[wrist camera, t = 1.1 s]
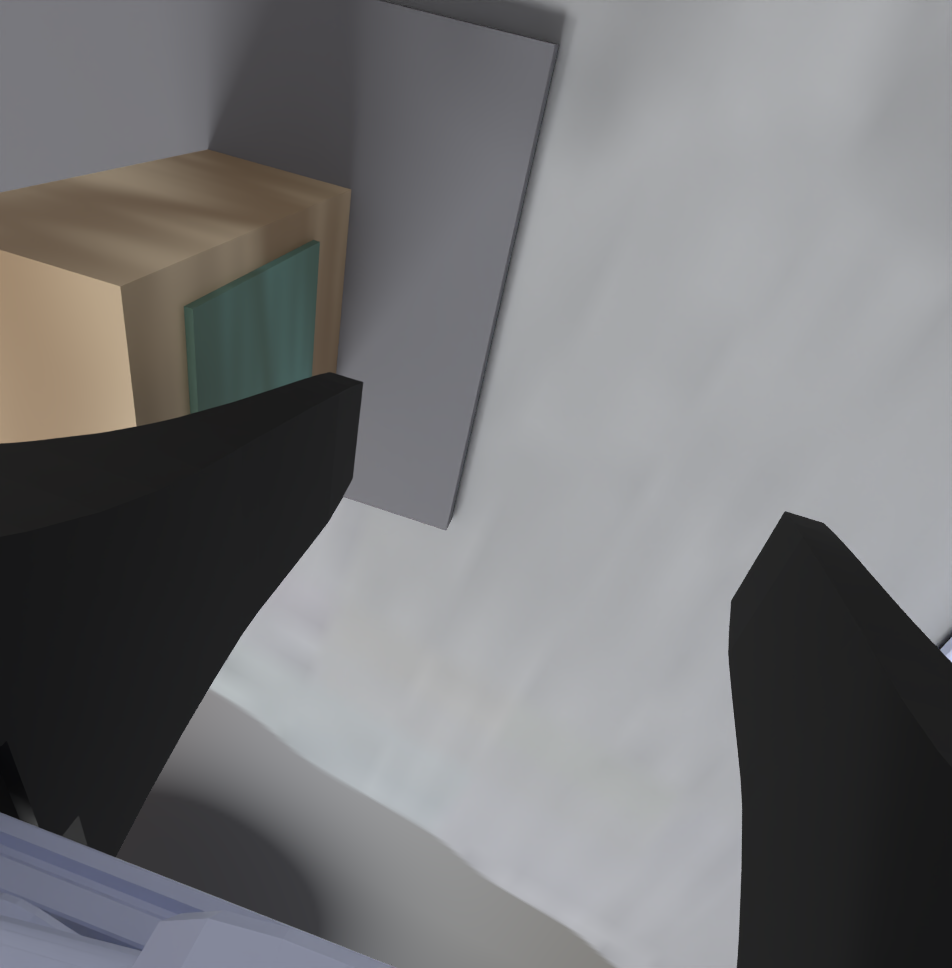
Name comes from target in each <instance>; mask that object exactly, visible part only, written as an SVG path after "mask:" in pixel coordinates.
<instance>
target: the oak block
mask: <svg viewBox="0 0 952 968" xmlns="http://www.w3.org/2000/svg"><path fill="white" fill-rule="evenodd" d="M350 200H351V189H348V188H344V187H341V186H337V185H334V184H330V183H326V182H323V181H319V180H316V179H312V178H308V177H305V176H301V175H298V174H294V173H291V172H287V171H283V170H280V169H276V168H273V167H269V166H266V165H262V164H258V163H255V162H251V161H248V160H244V159H241V158H237V157H233V156H230V155H226V154H223V153H219V152H215V151H212V150H208V149H207V150H202V151H198V152H193V153H188V154H183V155H178V156H173V157H169V158H164V159H159V160H154V161H149V162H145V163H140V164H135V165H130V166H125V167H121V168H116V169H111V170H106V171H101V172H96V173H92V174H87V175H82V176H77V177H72V178H68V179H63V180H58V181H53V182H48V183H43V184H39V185H34V186H29V187H24V188H19V189H15V190H10V191H5V192H0V443H15V442H27V441H37V440H45V439H53V438H62V437H70V436H78V435H87V434H95V433H102V432H108V431H114V430H119V429H125V428H130V427H136V426H141V425H146V424H151V423H156V422H160V421H165V420H169V419H173V418H177V417H181V416H185V415H188V414H192V413H195V412H199V411H203V410H206V409H210V408H213V407H217V406H221V405H224V404H228V403H231V402H235V401H238V400H241V399H244V398H247V397H250V396H253V395H256V394H260V393H263V392H266V391H269V390H272V389H275V388H278V387H281V386H284V385H287V384H290V383H293V382H296V381H299V380H302V379H305V378H309V377H312V376H315V375H319V374H323V373H328V372H332V373H335V374H336V368H337V356H338V344H339V332H340V320H341V308H342V296H343V284H344V272H345V260H346V248H347V236H348V224H349V212H350Z"/></svg>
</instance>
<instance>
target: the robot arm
mask: <svg viewBox="0 0 952 968" xmlns="http://www.w3.org/2000/svg"><path fill="white" fill-rule="evenodd" d="M362 391H363V382H361V381H358V380H355V379H352V378H348V377H345V376H342V375H339V374H335V373H332V372H328V373H323V374H319V375H315V376H312V377H309V378H305V379H302V380H299V381H296V382H293V383H290V384H287V385H284V386H281V387H278V388H275V389H272V390H269V391H266V392H263V393H260V394H256V395H253V396H250V397H247V398H244V399H241V400H238V401H235V402H231V403H228V404H224V405H221V406H217V407H213V408H210V409H206V410H203V411H199V412H195V413H192V414H188V415H185V416H181V417H177V418H173V419H169V420H165V421H160V422H156V423H151V424H146V425H141V426H136V427H130V428H125V429H119V430H114V431H108V432H102V433H95V434H87V435H78V436H70V437H62V438H53V439H45V440H37V441H27V442H15V443H0V968H396V967H394V966H391V965H388V964H386V963H384V962H381V961H378V960H376V959H373V958H371V957H368V956H366V955H363V954H361V953H358V952H356V951H353V950H350V949H348V948H345V947H343V946H340V945H338V944H335V943H333V942H330V941H327V940H325V939H322V938H320V937H317V936H315V935H312V934H309V933H307V932H304V931H302V930H299V929H297V928H294V927H292V926H289V925H286V924H284V923H281V922H279V921H276V920H274V919H271V918H269V917H266V916H264V915H261V914H259V913H256V912H253V911H251V910H248V909H246V908H243V907H241V906H238V905H235V904H233V903H230V902H228V901H225V900H223V899H220V898H218V897H215V896H213V895H210V894H207V893H205V892H202V891H200V890H197V889H195V888H192V887H190V886H187V885H184V884H182V883H179V882H176V881H174V880H172V879H169V878H166V877H164V876H161V875H159V874H156V873H154V872H151V871H149V870H146V869H144V868H141V867H138V866H136V865H133V864H131V863H128V862H126V861H123V860H121V859H118V858H116V855H117V853H118V851H119V849H120V848H121V846H122V844H123V842H124V840H125V838H126V836H127V834H128V832H129V830H130V828H131V827H132V825H133V823H134V821H135V819H136V817H137V815H138V813H139V811H140V809H141V808H142V806H143V804H144V802H145V800H146V798H147V796H148V794H149V792H150V791H151V789H152V787H153V785H154V783H155V781H156V780H157V778H158V776H159V774H160V773H161V771H162V769H163V767H164V765H165V764H166V762H167V760H168V758H169V756H170V755H171V753H172V751H173V749H174V748H175V746H176V744H177V742H178V740H179V738H180V737H181V735H182V733H183V731H184V730H185V728H186V726H187V725H188V723H189V721H190V719H191V718H192V716H193V714H194V713H195V711H196V709H197V708H198V706H199V704H200V703H201V701H202V699H203V697H204V696H205V694H206V692H207V691H208V689H209V687H210V686H211V684H212V682H213V681H214V679H215V677H216V676H217V674H218V672H219V671H220V669H221V668H222V666H223V664H224V663H225V661H226V660H227V658H228V656H229V655H230V653H231V652H232V650H233V648H234V647H235V645H236V643H237V642H238V640H239V639H240V637H241V635H242V634H243V632H244V631H245V630H246V628H247V627H248V625H249V624H250V623H251V621H252V620H253V618H254V617H255V616H256V614H257V613H258V611H259V610H260V609H261V608H262V606H263V605H264V604H265V602H266V601H267V600H268V599H269V597H270V596H271V595H272V594H273V592H274V591H275V590H276V589H277V587H278V586H279V585H280V583H281V582H282V581H283V580H284V578H285V577H286V576H287V575H288V573H289V572H290V571H291V570H292V568H293V567H294V566H295V564H296V563H297V562H298V561H299V559H300V558H301V557H302V556H303V554H304V553H305V552H306V550H307V549H308V548H309V547H310V545H311V544H312V543H313V541H314V540H315V539H316V537H317V536H318V535H319V534H320V532H321V531H322V530H323V528H324V527H325V526H326V524H327V523H328V522H329V520H330V518H331V517H332V515H333V513H334V511H335V510H336V508H337V506H338V505H339V503H340V501H341V499H342V498H343V496H344V494H345V492H346V490H347V488H348V487H349V485H350V483H351V481H352V479H353V472H354V463H355V454H356V445H357V436H358V427H359V418H360V409H361V400H362ZM728 655H729V668H730V678H731V689H732V700H733V709H734V719H735V728H736V738H737V748H738V757H739V767H740V777H741V793H742V872H741V899H740V925H739V945H738V960H737V968H952V637H951V638H950V639H949V641H948V642H947V643H946V644H945V645H944V646H943V647H942V648H941V649H940V650H939V649H938V648H937V647H936V646H935V645H934V644H933V643H932V642H931V641H930V639H929V638H928V637H927V636H926V635H925V634H924V633H923V632H922V631H921V630H920V629H919V628H918V627H917V625H916V624H915V623H914V622H913V621H912V620H911V619H910V618H909V617H908V616H907V615H906V613H905V612H904V611H903V610H902V609H901V608H900V607H899V606H898V604H897V603H896V602H895V601H894V600H893V599H892V598H891V597H890V595H889V594H888V593H887V592H886V591H885V590H884V589H883V587H882V586H881V585H880V584H879V583H878V582H877V581H876V579H875V578H874V577H873V576H872V575H871V574H870V573H869V571H868V570H867V569H866V568H865V567H864V566H863V565H862V563H861V562H860V561H859V560H858V559H857V558H856V557H855V555H854V554H853V553H852V552H851V551H850V550H849V549H848V548H847V546H846V545H845V544H844V543H843V542H842V541H841V540H840V539H839V538H838V537H837V536H836V535H835V534H834V533H833V532H832V531H831V530H830V529H829V528H828V527H827V526H826V525H825V524H824V523H822V522H818V521H815V520H812V519H808V518H805V517H802V516H799V515H795V514H792V513H789V512H786V511H785V512H784V514H783V515H782V517H781V519H780V520H779V522H778V524H777V525H776V527H775V529H774V530H773V532H772V534H771V535H770V537H769V539H768V540H767V542H766V544H765V545H764V547H763V549H762V550H761V552H760V554H759V555H758V557H757V559H756V560H755V562H754V564H753V565H752V567H751V569H750V570H749V572H748V574H747V575H746V577H745V579H744V580H743V582H742V584H741V585H740V587H739V589H738V590H737V592H736V594H735V595H734V597H733V599H732V600H731V612H730V626H729V650H728Z"/></svg>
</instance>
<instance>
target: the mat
mask: <svg viewBox="0 0 952 968" xmlns="http://www.w3.org/2000/svg"><path fill="white" fill-rule="evenodd" d="M558 48H559V45H557V44H553V43H549V42H545V41H541V40H537V39H533V38H529V37H525V36H521V35H517V34H513V33H509V32H505V31H501V30H497V29H493V28H489V27H485V26H481V25H477V24H473V23H469V22H465V21H461V20H457V19H453V18H449V17H445V16H441V15H437V14H433V13H429V12H425V11H421V10H417V9H413V8H409V7H405V6H401V5H397V4H393V3H389V2H385V1H381V0H0V192H5V191H10V190H15V189H19V188H24V187H29V186H34V185H39V184H43V183H48V182H53V181H58V180H63V179H68V178H72V177H77V176H82V175H87V174H92V173H96V172H101V171H106V170H111V169H116V168H121V167H125V166H130V165H135V164H140V163H145V162H149V161H154V160H159V159H164V158H169V157H173V156H178V155H183V154H188V153H193V152H198V151H202V150H207V149H208V150H212V151H215V152H219V153H223V154H226V155H230V156H233V157H237V158H241V159H244V160H248V161H251V162H255V163H258V164H262V165H266V166H269V167H273V168H276V169H280V170H283V171H287V172H291V173H294V174H298V175H301V176H305V177H308V178H312V179H316V180H319V181H323V182H326V183H330V184H334V185H337V186H341V187H344V188H348V189H351V200H350V212H349V224H348V236H347V248H346V260H345V272H344V284H343V296H342V308H341V320H340V332H339V344H338V356H337V368H336V374H339V375H342V376H345V377H348V378H352V379H355V380H358V381H361V382H363V391H362V400H361V409H360V418H359V427H358V436H357V445H356V454H355V463H354V472H353V479H352V481H351V483H350V485H349V487H348V488H347V490H346V492H345V494H344V496H343V497H345V498H348V499H352V500H355V501H358V502H361V503H364V504H367V505H370V506H373V507H376V508H379V509H382V510H385V511H388V512H391V513H394V514H397V515H400V516H403V517H407V518H410V519H413V520H416V521H419V522H422V523H425V524H428V525H431V526H434V527H437V528H440V529H443V530H447V528H448V526H449V524H450V522H451V518H452V514H453V510H454V505H455V501H456V496H457V492H458V488H459V483H460V479H461V474H462V470H463V466H464V461H465V457H466V452H467V448H468V444H469V439H470V435H471V430H472V426H473V422H474V417H475V413H476V408H477V404H478V400H479V395H480V391H481V386H482V382H483V378H484V373H485V369H486V364H487V360H488V356H489V351H490V347H491V342H492V338H493V334H494V329H495V325H496V320H497V316H498V312H499V307H500V303H501V298H502V294H503V290H504V285H505V281H506V276H507V272H508V268H509V263H510V259H511V255H512V250H513V246H514V241H515V237H516V233H517V228H518V224H519V219H520V215H521V211H522V206H523V202H524V197H525V193H526V189H527V184H528V180H529V175H530V171H531V167H532V162H533V158H534V153H535V149H536V145H537V140H538V136H539V131H540V127H541V123H542V118H543V114H544V109H545V105H546V101H547V96H548V92H549V87H550V83H551V79H552V74H553V70H554V65H555V61H556V57H557V52H558Z"/></svg>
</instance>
